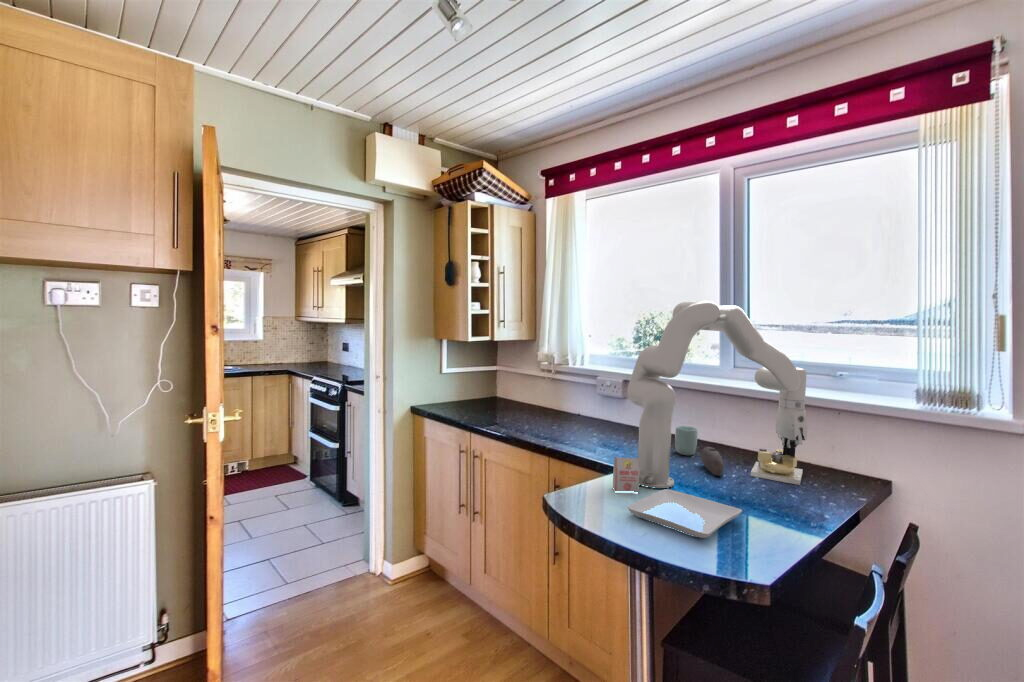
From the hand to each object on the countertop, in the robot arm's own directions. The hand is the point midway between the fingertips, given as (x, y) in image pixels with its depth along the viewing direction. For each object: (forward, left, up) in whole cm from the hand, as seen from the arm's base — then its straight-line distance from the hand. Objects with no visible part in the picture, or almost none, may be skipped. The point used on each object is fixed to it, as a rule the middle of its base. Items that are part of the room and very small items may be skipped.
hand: (788, 458), depth 162 cm
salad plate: (-60, +19, -6) cm, 63 cm away
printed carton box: (-51, +38, -6) cm, 63 cm away
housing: (-4, +3, -5) cm, 7 cm away
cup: (+2, +34, -5) cm, 35 cm away
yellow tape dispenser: (-4, +3, -3) cm, 6 cm away
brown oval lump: (-14, +21, -6) cm, 26 cm away
